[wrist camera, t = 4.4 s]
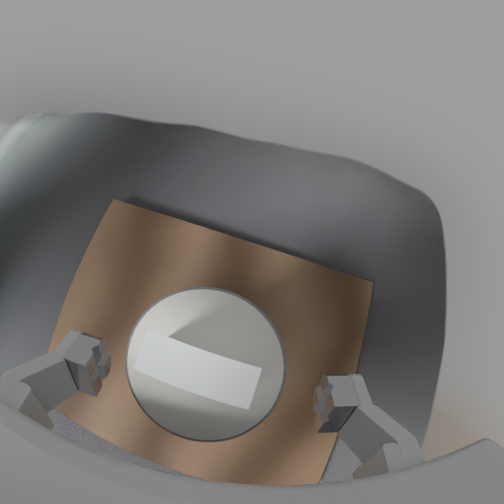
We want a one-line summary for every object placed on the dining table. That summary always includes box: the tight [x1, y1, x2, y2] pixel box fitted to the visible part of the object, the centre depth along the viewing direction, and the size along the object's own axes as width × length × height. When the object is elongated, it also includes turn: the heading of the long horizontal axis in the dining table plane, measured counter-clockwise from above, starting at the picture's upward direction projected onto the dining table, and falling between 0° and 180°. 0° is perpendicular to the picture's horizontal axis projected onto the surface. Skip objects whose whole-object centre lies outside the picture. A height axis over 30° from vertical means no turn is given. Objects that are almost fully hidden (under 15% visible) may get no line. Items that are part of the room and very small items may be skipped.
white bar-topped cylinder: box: [125, 287, 286, 442], centre depth 10 cm, size 5×5×11 cm
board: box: [47, 199, 373, 485], centre depth 16 cm, size 20×16×1 cm
